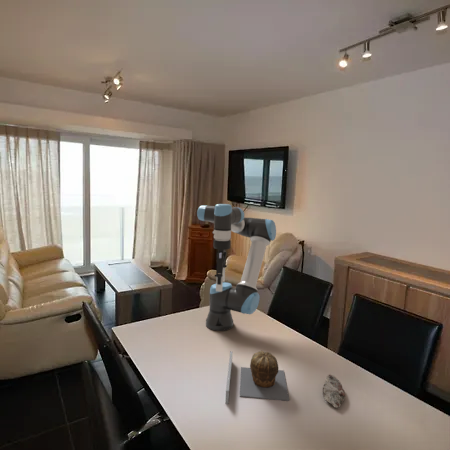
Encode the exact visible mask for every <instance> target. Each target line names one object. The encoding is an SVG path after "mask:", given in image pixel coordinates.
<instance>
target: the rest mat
mask: <svg viewBox="0 0 450 450" xmlns="http://www.w3.org/2000/svg"><path fill="white" fill-rule="evenodd" d="M239 397H240V398H250V399H251V398H252V399H253V398H254V399H260V400H261V399H264V400H265V399H266V400H276V401H290V397H289V391H288V385H287V380H286V374H285V370H284V369H283V370H281V369H278V373H277V375H276V378H275V385H273V386H271V387H267V388H263V387H260V386H258V385H256V384H255V382H254V381H253V377H252V372H251V368H250V367H247V366H240V381H239Z"/></svg>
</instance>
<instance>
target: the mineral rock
mask: <svg viewBox="0 0 450 450" xmlns="http://www.w3.org/2000/svg"><path fill="white" fill-rule="evenodd" d="M325 378H326V379H325V381H324V382H323V387H322V395H323V396H322V397H323V399H324V400H325V401H326V402H328V403H330V405H332V406H333V407H334V408H336V409H337V408H340V407H341V404H342V403H343V402H344V400H345V397H346V392H345V390H344V388H343V385H342V384H341V381H340V380H338V378H337V377H336V376H335V375H333V374H331V373H329V374H327V376H326V377H325Z"/></svg>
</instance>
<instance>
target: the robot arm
mask: <svg viewBox="0 0 450 450" xmlns="http://www.w3.org/2000/svg"><path fill="white" fill-rule="evenodd" d="M196 215H197V219H198V220H199V221H202V222H210V223H212V224H213V231H212V234H213V243H212V245H213V248H214V249H216V250H218V251H216V252H217V253H216V272H215V274H214V277H215V280H216V281H215V283H214V284H212V285H211V286H210V288H209V309H208V314H207V317H206V318H205V326H206V327H207V328H208V329H210V330H212V331H217V332H219V331H220V332H221V331H222V332H224V331H228V330H231V329H232V328H233V327H234V319H233V315H232V312H231V311H233V312H237V313H240V314H243V315H245V314H246V315H252V314H253V313H254V312H255V311H256V310H257V308H258V306H259V305H260V304H259V303H260V299H261V298H260V297H261V296H260V294H259V292H258V291H259V289H258V288H257V283H258V279H259V276H260V271H261V268H262V265H263V260H264V257H265V253H266V249H267V247H268V246H270V244H271V241H275V239H276V238H277V237H276V236H277V228H276V227H277V226H276V223H275V221H274V220H273V219H269V218H268V219H267V218H258V217H257V218H256V217H245V212H244V209H242V208H241V207H238V206H233V205H231V204H229V203H217V204H215V205H206V204H205V205H204V204H203V205H200V206H199V207H198V209H197V211H196ZM232 233H235V234H237V235H240V236H242V237H246V238H249V239H250V242H251V243H250V247H249V249H248V254H247V256H246V257H247V258H246V261H245V265H244V268H243V272H242V275H241V278H240V282H238V283H236V286H235V287H233V285H232V283H230V282H226V281H225V280H226V268H227V266H228V265H226V260H227V259H226V258H227V251H226V250H230V249H231V242H232V241H231V239H232Z"/></svg>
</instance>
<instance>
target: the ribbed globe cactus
mask: <svg viewBox="0 0 450 450" xmlns="http://www.w3.org/2000/svg"><path fill="white" fill-rule="evenodd" d="M249 368H251V372H252V377H253V381H254V382H255V384H256V385H258V386H260V387H263V388H267V387H271V386H273V385H275V378H276V375H277V373H278V370H279V363H278V359H277V358H276V357H275V355H273V354H272V353H271V352H269V351H264V350H259V351H257V352H255V353H253V354H252V357H251V360H250V364H249Z"/></svg>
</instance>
